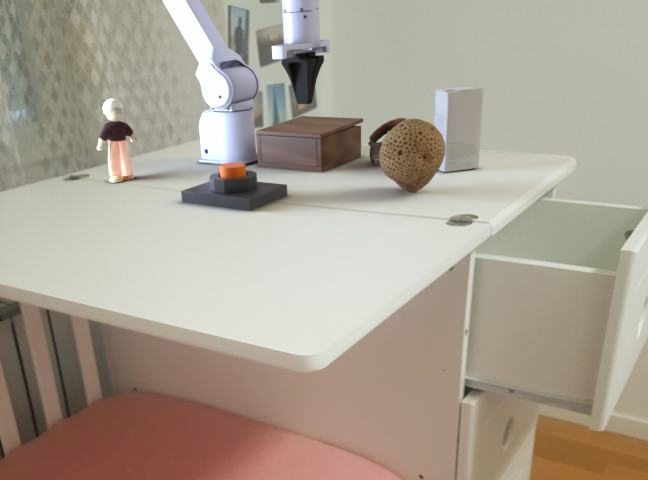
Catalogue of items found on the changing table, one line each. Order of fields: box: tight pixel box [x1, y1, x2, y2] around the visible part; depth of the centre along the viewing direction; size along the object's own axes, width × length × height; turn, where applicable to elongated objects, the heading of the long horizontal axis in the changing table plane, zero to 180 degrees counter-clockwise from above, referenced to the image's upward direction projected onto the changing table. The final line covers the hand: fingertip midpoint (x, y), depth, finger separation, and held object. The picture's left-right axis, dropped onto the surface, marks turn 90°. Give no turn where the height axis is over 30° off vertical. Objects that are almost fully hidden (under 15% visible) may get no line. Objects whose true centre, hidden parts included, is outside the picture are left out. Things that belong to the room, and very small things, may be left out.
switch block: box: [180, 169, 288, 212], centre depth 100 cm, size 12×9×4 cm
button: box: [219, 162, 247, 178], centre depth 100 cm, size 4×4×2 cm
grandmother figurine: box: [96, 97, 138, 184], centre depth 115 cm, size 8×4×13 cm, turn 152°
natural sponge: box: [379, 118, 445, 193], centre depth 98 cm, size 9×9×10 cm
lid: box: [255, 115, 364, 138], centre depth 121 cm, size 14×13×1 cm
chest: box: [255, 125, 362, 173], centre depth 122 cm, size 14×13×5 cm
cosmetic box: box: [433, 85, 484, 173], centre depth 110 cm, size 6×4×12 cm
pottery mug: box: [367, 117, 408, 166], centre depth 118 cm, size 12×10×8 cm
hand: (304, 103), depth 117 cm, fingers closed
